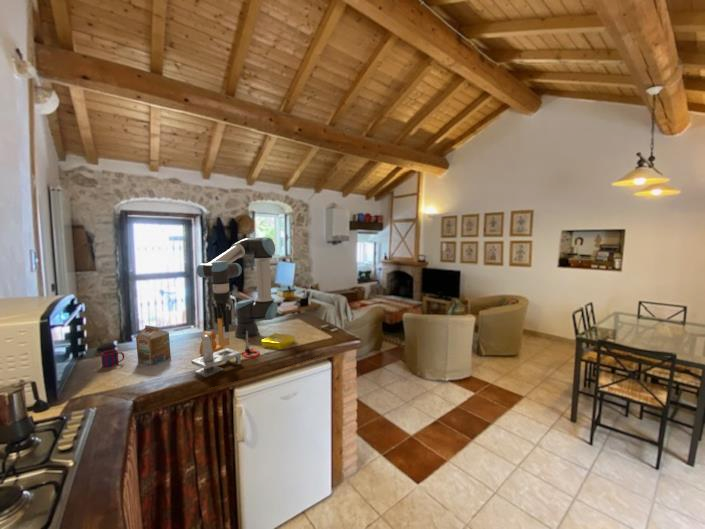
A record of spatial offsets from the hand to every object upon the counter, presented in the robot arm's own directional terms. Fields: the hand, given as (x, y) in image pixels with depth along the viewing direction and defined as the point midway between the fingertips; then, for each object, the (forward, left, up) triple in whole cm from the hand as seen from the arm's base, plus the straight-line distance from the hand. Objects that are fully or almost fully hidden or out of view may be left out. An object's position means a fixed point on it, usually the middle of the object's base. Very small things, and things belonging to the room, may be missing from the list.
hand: (223, 337), depth 153 cm
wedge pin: (0, 0, -4) cm, 4 cm away
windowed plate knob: (+4, 0, -14) cm, 15 cm away
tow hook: (-16, 0, -15) cm, 22 cm away
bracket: (-6, -22, -15) cm, 27 cm away
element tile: (-35, 0, -15) cm, 38 cm away
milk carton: (+17, -38, -15) cm, 44 cm away
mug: (+31, -51, -15) cm, 61 cm away
